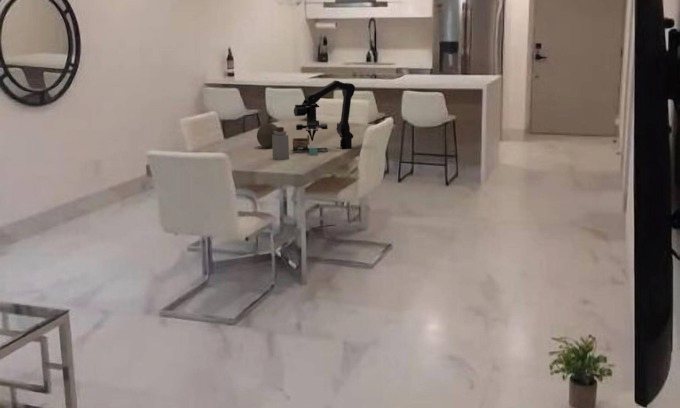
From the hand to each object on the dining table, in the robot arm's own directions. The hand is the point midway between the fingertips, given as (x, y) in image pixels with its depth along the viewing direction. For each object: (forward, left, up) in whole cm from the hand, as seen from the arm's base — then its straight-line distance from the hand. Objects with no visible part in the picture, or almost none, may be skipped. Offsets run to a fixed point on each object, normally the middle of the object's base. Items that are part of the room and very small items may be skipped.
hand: (312, 141), depth 453 cm
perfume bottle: (+19, +22, -6) cm, 30 cm away
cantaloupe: (+27, -16, -6) cm, 32 cm away
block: (0, +13, -6) cm, 14 cm away
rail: (+1, 0, -6) cm, 6 cm away
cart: (+7, 0, -5) cm, 8 cm away
